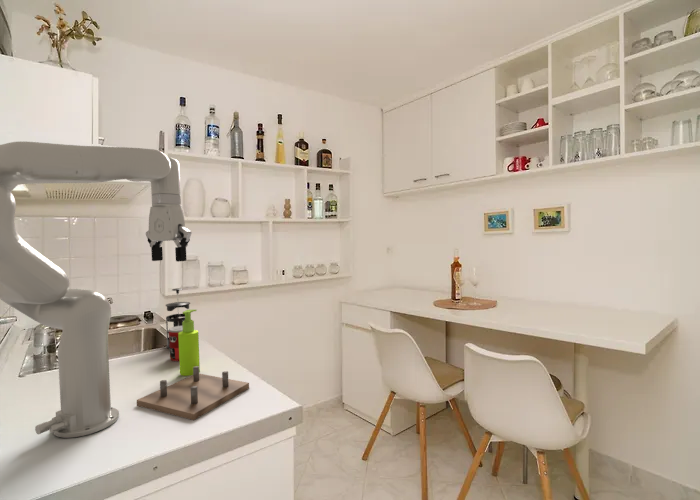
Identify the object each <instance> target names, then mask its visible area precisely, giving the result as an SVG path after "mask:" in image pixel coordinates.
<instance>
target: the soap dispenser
mask: <svg viewBox="0 0 700 500" xmlns="http://www.w3.org/2000/svg"><path fill="white" fill-rule="evenodd" d="M197 310H198V309H186V310H185V311H182V314H185V320H184V321H183V322H182V328H183V331H182V332H179V333H178V338H179V361H178V362H179V375H180V376H183V377H190V376H192V375H193V367H195V366H199V373H200V364H201V363H200V344H199V343H200V340H199V339H200V338H199V330H197V329H195V320H193V319H192V316H191V315H192V313H193V312H197Z"/></svg>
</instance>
